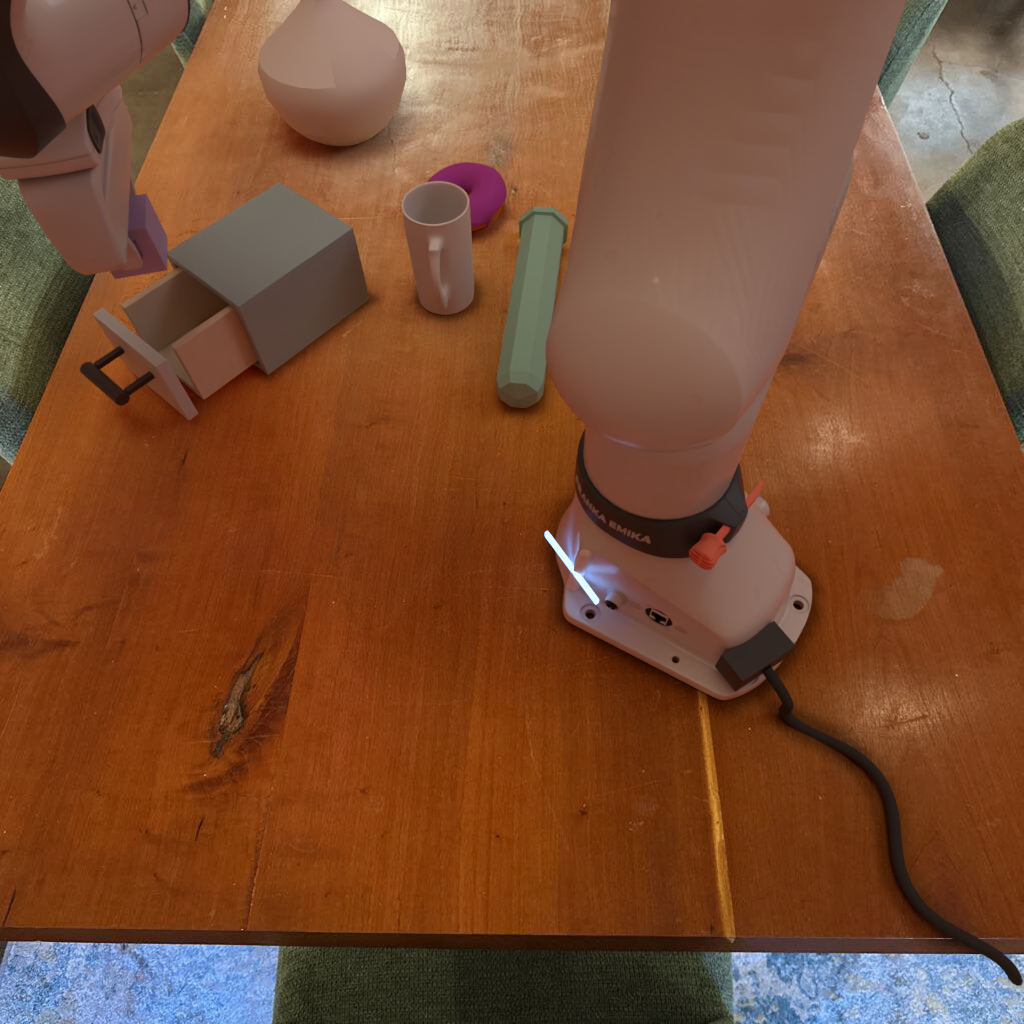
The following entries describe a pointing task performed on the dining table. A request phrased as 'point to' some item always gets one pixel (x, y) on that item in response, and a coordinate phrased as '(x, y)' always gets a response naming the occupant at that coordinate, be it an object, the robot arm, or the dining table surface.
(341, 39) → the vase
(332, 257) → the cabinet
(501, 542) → the dining table surface
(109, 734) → the dining table surface
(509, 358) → the container
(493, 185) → the donut
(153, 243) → the mauve cube
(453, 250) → the mug
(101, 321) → the drawer
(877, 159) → the dining table surface
